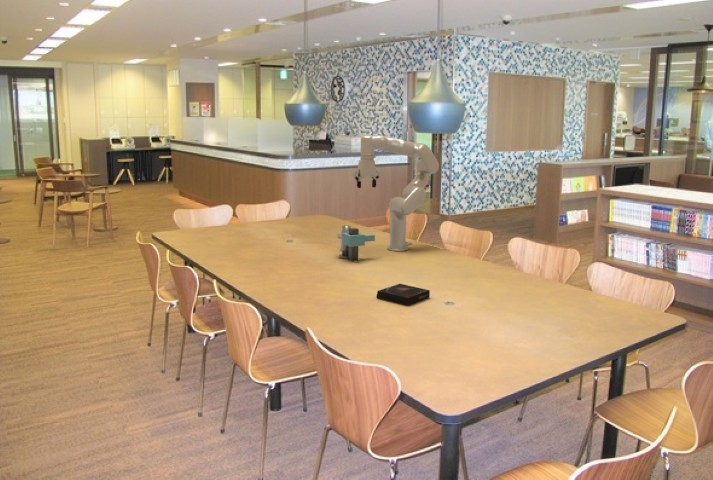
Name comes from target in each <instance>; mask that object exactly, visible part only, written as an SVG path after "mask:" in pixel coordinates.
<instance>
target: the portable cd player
mask: <svg viewBox="0 0 713 480" xmlns="http://www.w3.org/2000/svg"><path fill="white" fill-rule="evenodd" d="M376 293H377V294H376V299H378V300H382V301H386V302H390V303H394V304H398V305H402V306H406V307H409V306H412V305H414V304H417V303H419V302H422V301H425V300H428V299H430V296H431V295H430V293H431V290H429V289H425V288H422V287H421V288H420V287H417V286H411V285H408V284H402V283H397V284H395V285H391V286H388V287H385V288H382V289H380V290H379V289H378V290H377V292H376Z"/></svg>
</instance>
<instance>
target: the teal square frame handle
mask: <svg viewBox="0 0 713 480" xmlns="http://www.w3.org/2000/svg"><path fill="white" fill-rule="evenodd" d="M375 241H376V235H375V234H372V233H371V234H370V233H369V234H365V233H361V232H359V235H349V233H342V244H344V245H347V246H349V247H354V246H358V247H362V246H366V242H367V243H368V242H375Z"/></svg>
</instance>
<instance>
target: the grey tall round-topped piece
mask: <svg viewBox="0 0 713 480" xmlns="http://www.w3.org/2000/svg"><path fill="white" fill-rule="evenodd" d="M349 228H352V226H351V225H350V224H349V225H348V224H345V225H344V224H343V225H342V227H341V230H342V233H349ZM337 239H340V240H341V239H342V234H341V233H339V234H337ZM338 257H339V258H340V259H342V260H345V259H346V260H349V246H347V245H344V244H342V250H341V254H339V256H338Z"/></svg>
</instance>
